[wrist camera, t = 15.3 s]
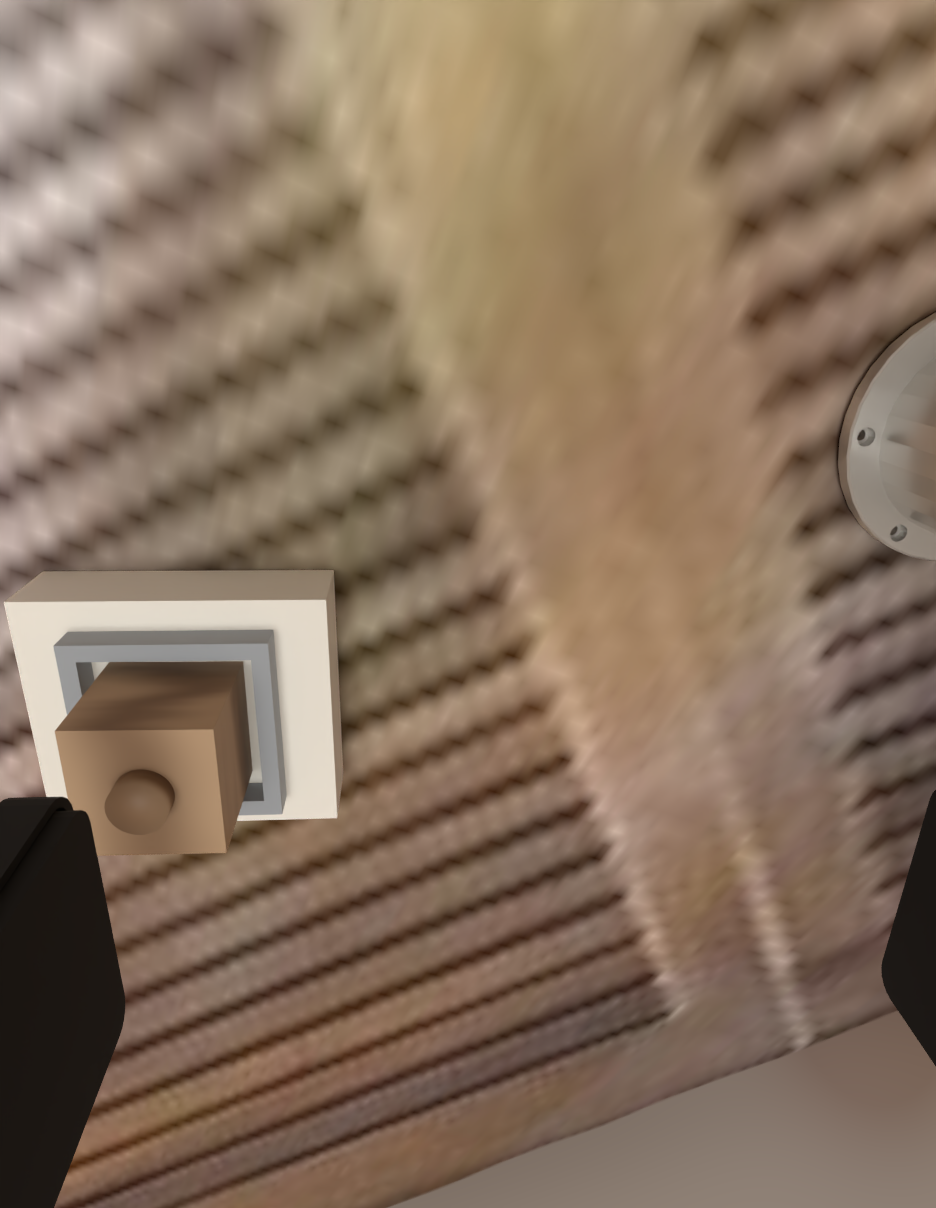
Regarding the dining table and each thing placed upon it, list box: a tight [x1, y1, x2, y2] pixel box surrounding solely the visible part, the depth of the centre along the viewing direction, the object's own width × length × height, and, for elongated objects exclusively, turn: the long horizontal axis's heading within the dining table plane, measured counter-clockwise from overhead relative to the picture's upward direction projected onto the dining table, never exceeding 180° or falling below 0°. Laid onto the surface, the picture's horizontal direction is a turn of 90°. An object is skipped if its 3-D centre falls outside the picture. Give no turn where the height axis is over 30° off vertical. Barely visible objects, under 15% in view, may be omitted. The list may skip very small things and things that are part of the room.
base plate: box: [4, 570, 343, 821], centre depth 38 cm, size 14×12×6 cm
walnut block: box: [55, 661, 253, 856], centre depth 34 cm, size 6×6×7 cm
